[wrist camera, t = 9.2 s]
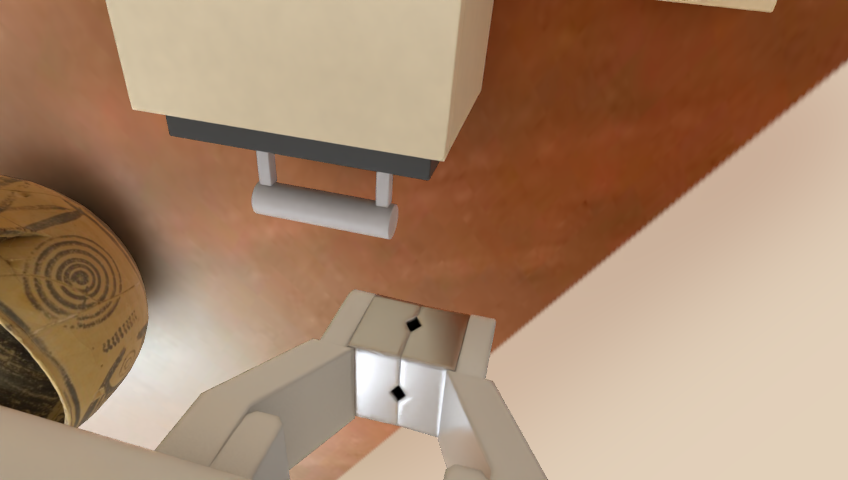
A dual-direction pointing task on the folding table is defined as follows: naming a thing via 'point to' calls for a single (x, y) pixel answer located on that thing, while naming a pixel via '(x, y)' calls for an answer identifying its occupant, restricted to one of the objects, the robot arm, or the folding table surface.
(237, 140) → the fryer drawer
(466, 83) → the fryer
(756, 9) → the control block
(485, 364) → the robot arm
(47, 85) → the folding table surface
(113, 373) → the ceramic bowl
